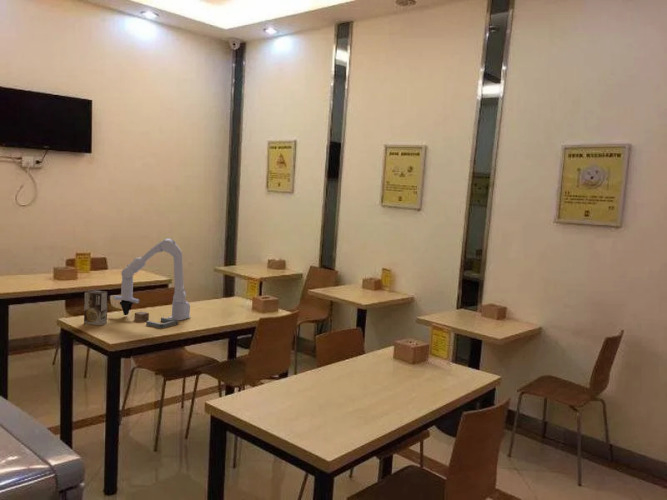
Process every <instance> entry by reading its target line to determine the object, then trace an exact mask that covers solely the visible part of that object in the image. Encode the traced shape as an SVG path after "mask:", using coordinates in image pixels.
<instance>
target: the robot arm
mask: <svg viewBox="0 0 667 500" xmlns="http://www.w3.org/2000/svg"><path fill="white" fill-rule="evenodd" d="M162 252H166V253H168V254H170V255H171V257H173V275H174V294H173V295H172V305H171V316H168V317H167V318H169V319H173V320H178V321H183V320H186V319H190V318H192V317H191V315H190V312H191V305H190V303H189V301H187V300H186V297H187V292H186V290H185V284H184V283H185V282H184V264H183V263H184V262H183V259H184V258H183V250H182V249H181V248H180V247H179V245H178V244H177V242H176V241H174V240H173V239H171V238H169V237H167V238H164V239H163V240H162V241H159V243H156V244H155V245H154V246H153V247H152V248H150V249H149V250H148V251H147V252H146V253H145V254H144V255H142V256H140V257H139V256H137V257H135V258H133V261H131V262H130V263H129V264H127V265H126V266H125V268H123V269H122V270H121V273H120V275H121V287H120V288H121V289H120V290H121V291H120V295H114V297H113V298H114V299H113V300H115V301H119V305H120V307H121V309H122V313H123V315H124V316H128V315H129V314H130V311H131V308H132V306H133V305H134V304H139V303H140V299H139V298H135V297H134V296H133V293H134V291H133V290H134V275H135V274H137V273H138V272H139V271H140V270H142V269H143V268H144V267H146V262H147V261H148V260H149V259H151V258H152V257H153V256H155V255H156V254H158V253H162Z"/></svg>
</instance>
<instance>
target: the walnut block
mask: <svg viewBox="0 0 667 500" xmlns="http://www.w3.org/2000/svg"><path fill="white" fill-rule="evenodd" d="M149 314H150V312H146V311H137V312H134V321H137V322H141V323H142V322H146V321H150V320H149V317H150V315H149Z"/></svg>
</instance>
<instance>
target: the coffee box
mask: <svg viewBox="0 0 667 500" xmlns="http://www.w3.org/2000/svg"><path fill="white" fill-rule="evenodd" d="M108 293H109V291H104V290H103V291H102V290H94V289H93V290H88V291H85V292H84V305H83V306H84V309H83V310H84V313H83V324H84V325H85V324H86V325H93V326H94V325H95V326H102V325H105V324H107V323H108V300H109V299H108V298H109V297H108Z"/></svg>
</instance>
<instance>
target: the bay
mask: <svg viewBox="0 0 667 500" xmlns="http://www.w3.org/2000/svg"><path fill="white" fill-rule="evenodd" d="M160 322H162V323H160ZM160 322H156V321H151V320H147V321H145V326H149V327H152V326H153V328H156V327H157V329H164V328H169V327H173V326H176V325H178V323H179V320H175V319H170V318H168V317H164V316H162V317H160Z"/></svg>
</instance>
